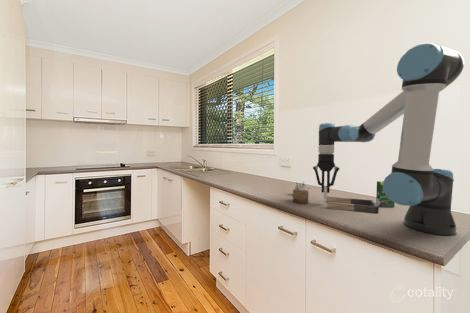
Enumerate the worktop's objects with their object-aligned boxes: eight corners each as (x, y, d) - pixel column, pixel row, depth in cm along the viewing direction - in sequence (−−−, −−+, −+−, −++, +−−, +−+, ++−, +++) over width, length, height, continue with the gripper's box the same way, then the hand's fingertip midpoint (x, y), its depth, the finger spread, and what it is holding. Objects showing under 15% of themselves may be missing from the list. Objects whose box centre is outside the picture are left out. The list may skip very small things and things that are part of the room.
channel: (378, 213, 102) (378, 207, 102) (326, 208, 110) (327, 202, 110) (372, 206, 115) (372, 200, 114) (326, 201, 122) (326, 196, 122)
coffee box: (378, 207, 112) (380, 181, 112) (375, 205, 115) (376, 180, 114) (394, 207, 112) (396, 181, 112) (390, 205, 115) (392, 180, 114)
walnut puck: (308, 204, 116) (308, 193, 116) (292, 203, 119) (292, 192, 119) (308, 200, 124) (308, 190, 124) (293, 199, 126) (293, 189, 126)
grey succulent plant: (303, 202, 135) (310, 191, 129) (290, 196, 136) (296, 185, 130) (305, 192, 142) (312, 181, 136) (292, 187, 143) (298, 176, 137)
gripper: (339, 153, 116) (338, 198, 117) (313, 153, 121) (312, 196, 122) (340, 154, 109) (339, 201, 110) (312, 153, 114) (311, 199, 115)
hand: (325, 198), depth 116 cm, fingers closed
